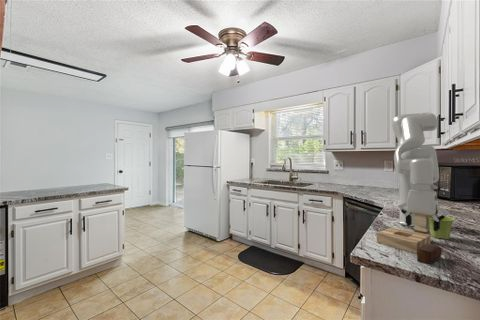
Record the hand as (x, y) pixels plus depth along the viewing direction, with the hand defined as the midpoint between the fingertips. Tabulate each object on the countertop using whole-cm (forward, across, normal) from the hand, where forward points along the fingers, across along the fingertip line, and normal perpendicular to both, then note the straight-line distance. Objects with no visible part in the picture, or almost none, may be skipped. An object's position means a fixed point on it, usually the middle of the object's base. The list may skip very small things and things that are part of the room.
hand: (422, 227), depth 97 cm
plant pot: (+6, -3, -11) cm, 13 cm away
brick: (+6, -8, +20) cm, 22 cm away
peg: (+5, 0, 0) cm, 5 cm away
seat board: (+6, +3, +11) cm, 13 cm away
